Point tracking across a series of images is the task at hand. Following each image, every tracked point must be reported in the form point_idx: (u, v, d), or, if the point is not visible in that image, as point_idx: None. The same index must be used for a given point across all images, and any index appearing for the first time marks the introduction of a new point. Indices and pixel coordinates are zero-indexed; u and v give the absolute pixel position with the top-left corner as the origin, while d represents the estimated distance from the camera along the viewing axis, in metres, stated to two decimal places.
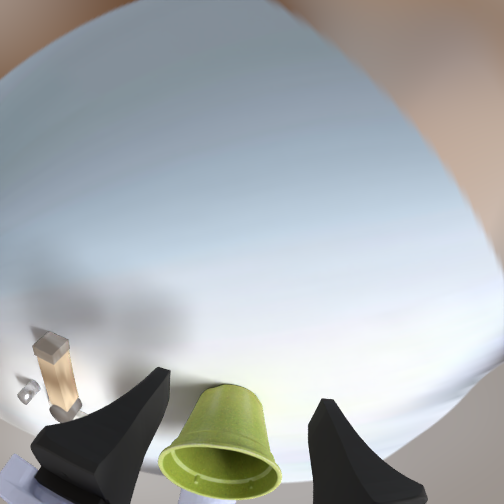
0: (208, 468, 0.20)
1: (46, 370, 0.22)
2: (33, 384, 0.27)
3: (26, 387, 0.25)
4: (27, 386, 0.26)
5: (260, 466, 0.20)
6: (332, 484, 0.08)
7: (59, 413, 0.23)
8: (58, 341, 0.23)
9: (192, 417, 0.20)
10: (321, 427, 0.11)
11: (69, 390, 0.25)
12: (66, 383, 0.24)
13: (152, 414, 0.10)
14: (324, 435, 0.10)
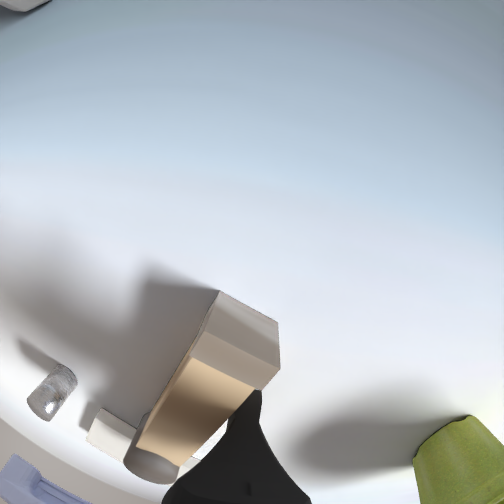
0: None
1: (196, 395, 0.10)
2: (67, 379, 0.13)
3: (52, 384, 0.12)
4: (54, 382, 0.12)
5: None
6: None
7: (155, 468, 0.11)
8: (262, 324, 0.11)
9: (473, 459, 0.10)
10: (231, 416, 0.11)
11: None
12: None
13: None
14: None
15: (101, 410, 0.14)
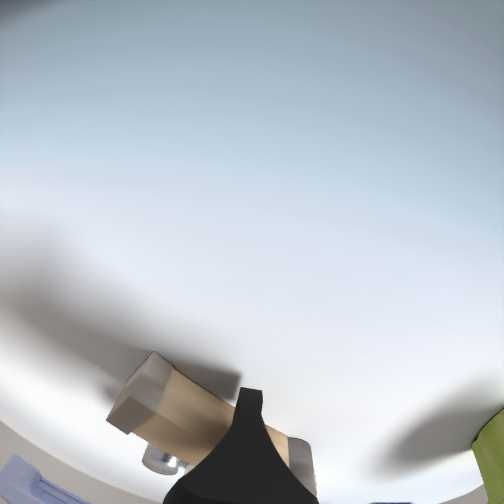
0: (487, 492, 0.10)
1: (171, 444, 0.10)
2: None
3: None
4: None
5: None
6: None
7: None
8: (140, 370, 0.12)
9: None
10: (236, 416, 0.11)
11: None
12: None
13: None
14: None
15: None
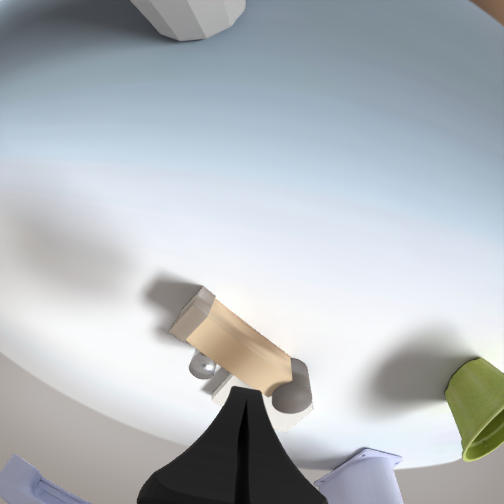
0: None
1: (213, 347, 0.19)
2: None
3: None
4: None
5: (490, 427, 0.17)
6: (239, 478, 0.08)
7: (286, 395, 0.19)
8: (194, 297, 0.20)
9: (488, 380, 0.18)
10: (242, 418, 0.11)
11: (267, 350, 0.20)
12: (253, 341, 0.20)
13: None
14: (243, 426, 0.10)
15: None
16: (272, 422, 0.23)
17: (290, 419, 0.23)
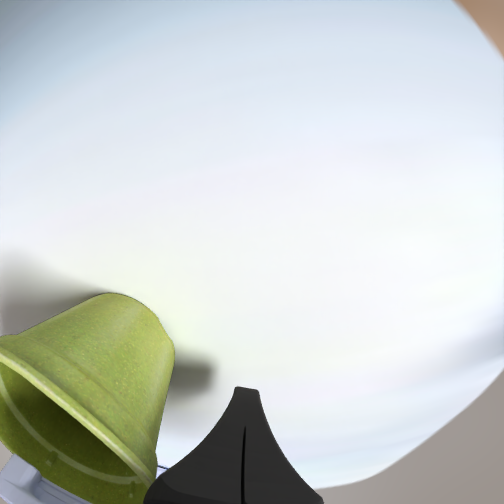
0: (74, 444, 0.10)
1: None
2: None
3: None
4: None
5: None
6: None
7: None
8: None
9: None
10: None
11: None
12: None
13: None
14: None
15: None
16: None
17: None
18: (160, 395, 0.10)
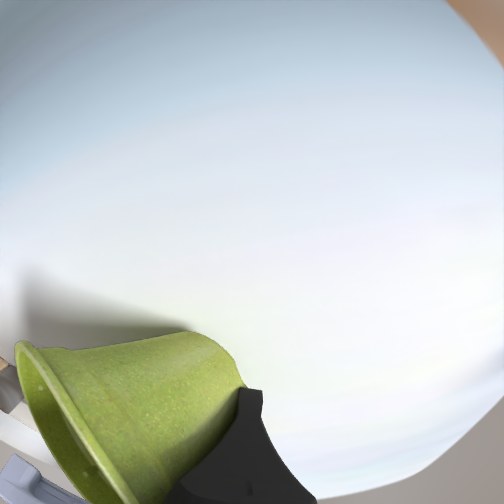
0: None
1: None
2: None
3: None
4: None
5: None
6: None
7: None
8: None
9: None
10: (235, 416, 0.11)
11: None
12: None
13: None
14: None
15: None
16: None
17: None
18: (208, 440, 0.09)
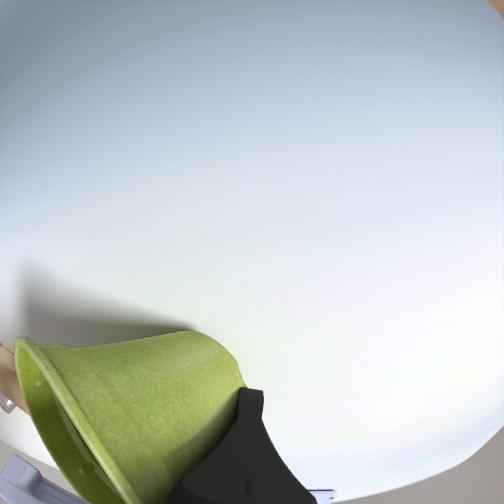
0: None
1: None
2: None
3: None
4: None
5: None
6: None
7: None
8: None
9: None
10: (235, 416, 0.11)
11: None
12: None
13: None
14: None
15: None
16: None
17: None
18: (210, 442, 0.09)
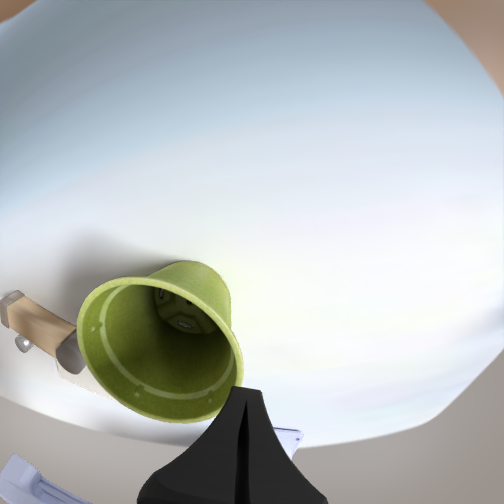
0: (157, 378, 0.17)
1: (18, 327, 0.21)
2: None
3: None
4: None
5: (223, 367, 0.16)
6: (239, 478, 0.08)
7: (61, 356, 0.20)
8: None
9: (131, 288, 0.17)
10: (242, 418, 0.11)
11: (50, 323, 0.22)
12: (39, 318, 0.22)
13: None
14: (243, 426, 0.10)
15: None
16: (103, 392, 0.24)
17: None
18: (230, 319, 0.17)
